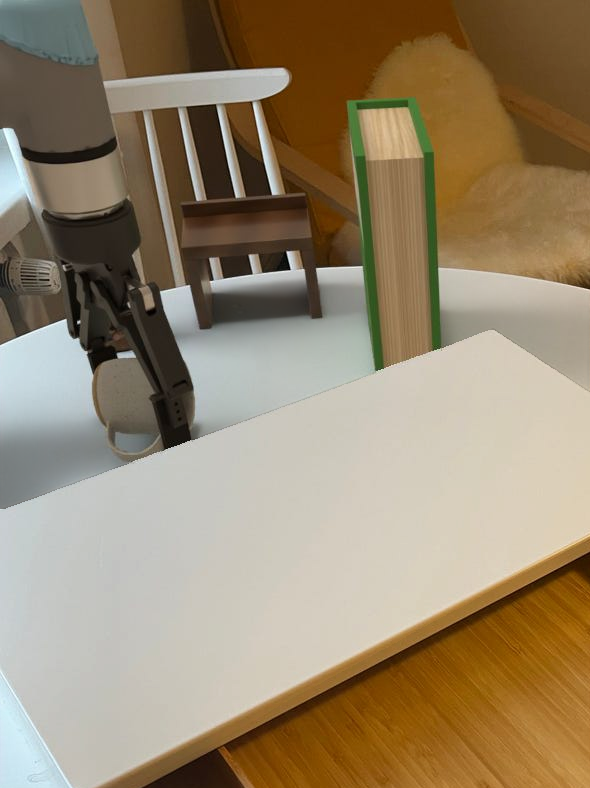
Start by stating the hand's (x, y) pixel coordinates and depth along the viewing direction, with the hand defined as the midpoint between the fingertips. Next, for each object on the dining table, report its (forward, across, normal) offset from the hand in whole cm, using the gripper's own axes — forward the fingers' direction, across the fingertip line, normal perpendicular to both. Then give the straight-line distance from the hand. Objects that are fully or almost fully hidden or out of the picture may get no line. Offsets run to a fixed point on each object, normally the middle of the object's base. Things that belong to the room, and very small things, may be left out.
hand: (148, 428), depth 95 cm
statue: (+3, +23, -11) cm, 26 cm away
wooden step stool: (+2, +18, -27) cm, 33 cm away
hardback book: (+2, -3, -32) cm, 33 cm away
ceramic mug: (+1, -1, 0) cm, 1 cm away
